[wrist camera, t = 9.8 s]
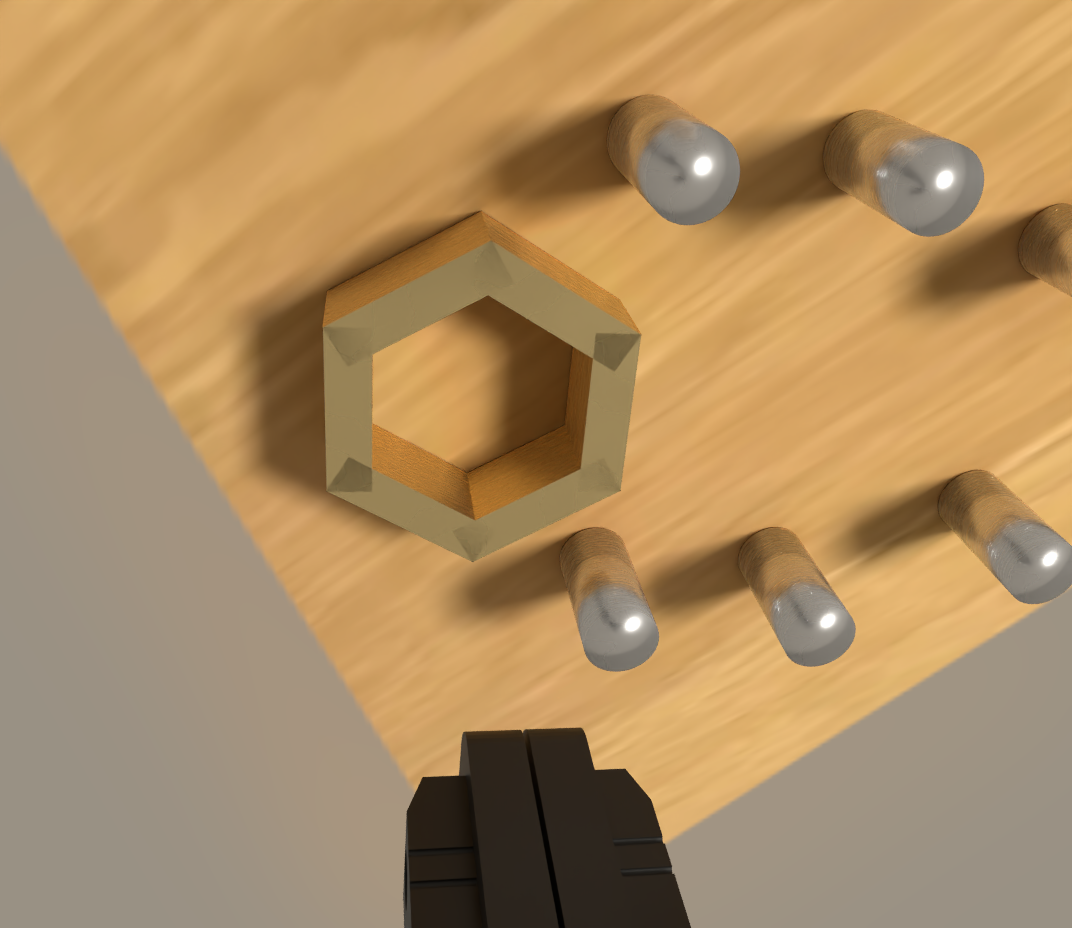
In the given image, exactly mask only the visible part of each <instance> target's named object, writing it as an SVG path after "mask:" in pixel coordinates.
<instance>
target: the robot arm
mask: <svg viewBox="0 0 1072 928" xmlns="http://www.w3.org/2000/svg"><path fill="white" fill-rule="evenodd" d="M404 870H405V871H404V893H403V900H404V928H691V926H690V923H689V920H688V916H687V913H686V910H685V907H684V904H683V900H682V897H681V894H680V891H679V888H678V884H677V881H676V878H675V875H674V874H672V865H671V862H670V859H669V856H668V852H667V849H666V846H665V844H663V841H662V833H661V830H660V827H659V823H658V820H657V817H656V814H655V811H654V807H653V804H652V801H651V799H650V798H649V797H648V795H647V794H646V793H645V792H644V791H643V790H642V788H641V787H640V786H639V785H638V784H637V782H636V781H635V780H634V779H633V778H632V776H631V775H630V774H629V773H628V772H627V770H626V769H607V770H595V769H594V766H593V762H592V758H591V754H590V750H589V746H588V742H587V738H586V735H585V733H584V731H583V729H582V728H556V729H526V730H524V731H523V733H522V731H521V730H504V731H473V732H463V735H462V743H461V756H460V770H459V776H439V777H423V778H422V780H421V782H420V784H419V786H418V789H417V791H416V793H415V795H414V797H413V799H412V801H411V804H410V806H409V808H408V810H407V820H406V844H405V869H404Z"/></svg>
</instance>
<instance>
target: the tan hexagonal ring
mask: <svg viewBox="0 0 1072 928" xmlns="http://www.w3.org/2000/svg"><path fill="white" fill-rule="evenodd" d="M486 296H490V297H492V298H493V299H495V300H497V301H498V302H500V303H502V304H503V305H505V306H507V307H508V308H510V309H512V310H513V311H515V312H517V313H518V314H520V315H522V316H523V317H525V318H526V319H528V320H530V321H531V322H533V323H535V324H536V325H538V326H540V327H541V328H543V329H545V330H546V331H548V332H550V333H551V334H553V335H555V336H556V337H558V338H560V339H561V340H563V341H565V342H566V343H568V344H570V345H571V346H573V348H572V358H571V368H570V378H569V388H568V397H567V407H566V417H565V425H564V426H562V427H560V428H558V429H556V430H554V431H552V432H550V433H548V434H546V435H544V436H542V437H540V438H538V439H536V440H534V441H532V442H530V443H528V444H526V445H523V446H521V447H519V448H517V449H515V450H513V451H511V452H509V453H507V454H505V455H503V456H501V457H499V458H497V459H495V460H493V461H491V462H489V463H487V464H485V465H483V466H481V467H479V468H477V469H475V470H473V471H471V472H469V473H466V472H464V471H462V470H460V469H459V468H457V467H455V466H453V465H451V464H449V463H447V462H445V461H443V460H441V459H439V458H437V457H436V456H434V455H432V454H430V453H428V452H426V451H424V450H422V449H420V448H418V447H416V446H414V445H413V444H411V443H409V442H407V441H405V440H403V439H401V438H399V437H397V436H395V435H393V434H391V433H389V432H388V431H386V430H384V429H382V428H380V427H378V426H376V425H374V424H372V354H374V353H376V352H378V351H380V350H382V349H384V348H386V347H388V346H390V345H392V344H394V343H396V342H398V341H400V340H401V339H403V338H405V337H407V336H409V335H411V334H413V333H415V332H417V331H419V330H421V329H423V328H425V327H427V326H429V325H431V324H433V323H435V322H437V321H439V320H441V319H443V318H445V317H447V316H448V315H450V314H452V313H454V312H456V311H458V310H460V309H462V308H464V307H466V306H468V305H470V304H472V303H474V302H476V301H478V300H480V299H482V298H484V297H486ZM322 328H323V352H324V396H325V440H326V485H327V487H326V491H327V492H329V493H331V494H333V495H335V496H337V497H339V498H342V499H344V500H346V501H348V502H350V503H352V504H354V505H356V506H358V507H360V508H362V509H364V510H366V511H368V512H370V513H373V514H375V515H377V516H379V517H381V518H383V519H385V520H387V521H389V522H391V523H393V524H395V525H397V526H399V527H401V528H404V529H406V530H408V531H410V532H412V533H414V534H416V535H418V536H420V537H422V538H424V539H426V540H428V541H430V542H432V543H435V544H437V545H439V546H441V547H443V548H445V549H447V550H449V551H451V552H453V553H455V554H457V555H459V556H461V557H463V558H466V559H468V560H470V561H472V562H474V561H476V560H478V559H480V558H482V557H484V556H486V555H488V554H490V553H492V552H494V551H497V550H499V549H501V548H503V547H505V546H507V545H509V544H511V543H513V542H515V541H517V540H519V539H521V538H523V537H526V536H528V535H530V534H532V533H534V532H536V531H538V530H540V529H542V528H544V527H546V526H548V525H550V524H553V523H555V522H557V521H559V520H561V519H563V518H565V517H567V516H569V515H571V514H573V513H575V512H577V511H579V510H582V509H584V508H586V507H588V506H590V505H592V504H594V503H596V502H598V501H600V500H602V499H604V498H606V497H608V496H611V495H613V494H615V493H617V492H619V491H621V490H620V489H621V482H622V474H623V467H624V459H625V452H626V444H627V437H628V429H629V422H630V414H631V407H632V400H633V392H634V385H635V377H636V370H637V362H638V355H639V347H640V340H641V333H640V331H639V330H638V328H637V327H636V325H635V323H634V322H633V320H632V318H631V317H630V315H629V314H628V312H627V310H626V309H625V307H624V306H623V304H622V302H621V301H620V299H618V298H616V297H615V296H613V295H612V294H610V293H608V292H607V291H605V290H604V289H602V288H601V287H599V286H597V285H596V284H594V283H593V282H591V281H590V280H588V279H587V278H585V277H583V276H582V275H580V274H579V273H577V272H576V271H574V270H572V269H571V268H569V267H568V266H566V265H565V264H563V263H561V262H560V261H558V260H557V259H555V258H554V257H552V256H550V255H549V254H547V253H546V252H544V251H543V250H541V249H540V248H538V247H536V246H535V245H533V244H532V243H530V242H529V241H527V240H525V239H524V238H522V237H521V236H519V235H518V234H516V233H514V232H513V231H511V230H510V229H508V228H507V227H505V226H504V225H502V224H500V223H499V222H497V221H496V220H494V219H493V218H491V217H489V216H488V215H486V214H485V213H483V212H482V211H480V212H478V213H476V214H475V215H473V216H471V217H469V218H467V219H465V220H463V221H461V222H459V223H457V224H455V225H453V226H451V227H450V228H448V229H446V230H444V231H442V232H440V233H438V234H436V235H434V236H432V237H430V238H428V239H426V240H425V241H423V242H421V243H419V244H417V245H415V246H413V247H411V248H409V249H407V250H405V251H403V252H401V253H400V254H398V255H396V256H394V257H392V258H390V259H388V260H386V261H384V262H382V263H380V264H378V265H376V266H375V267H373V268H371V269H369V270H367V271H365V272H363V273H361V274H359V275H357V276H355V277H353V278H351V279H350V280H348V281H346V282H344V283H342V284H340V285H338V286H336V287H334V288H332V289H330V290H327V295H326V303H325V311H324V319H323V327H322Z"/></svg>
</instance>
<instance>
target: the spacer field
mask: <svg viewBox="0 0 1072 928" xmlns="http://www.w3.org/2000/svg"><path fill="white" fill-rule="evenodd" d="M607 148H608V153H609V156H610V159H611V161H612V163H613V164H614V165H615V167H616V168H617V169H618V170H619V171H620V172H621V173H622V174H623V176H624V177H625V178H626V179H627V180H628V181H629V182H630V183H631V184H632V185H633V186H634V187H635V189H636V190H637V191H638V192H639V193H640V194H641V195H642V196H643V197H644V198H645V199H646V200H647V202H648V203H649V204H650V205H651V206H652V207H653V208H654V209H655V210H656V211H657V212H658V213H659V214H660V215H661V216H662V217H663V218H665V219H667V220H668V221H671V222H673V223H676V224H681V225H695V224H699V223H703V222H706V221H708V220H710V219H712V218H713V217H715V216H716V215H718V214H719V213H720V212H721V211H722V210H724V209H725V207H726V206H727V205H728V204H729V203H730V201H731V199H732V198H733V196H734V194H735V192H736V189H737V187H738V183H739V177H740V164H739V159H738V155H737V153H736V150H735V148H734V147H733V145H732V144H731V142H730V141H729V140H728V139H727V138H726V137H725V136H724V135H722V134H721V133H719V132H718V131H716V130H715V129H713V128H712V127H710V126H708V125H707V124H705V123H704V122H702V121H701V120H699V119H698V118H696V117H695V116H693V115H692V114H690V113H689V112H687V111H686V110H684V109H683V108H681V107H680V106H678V105H676V104H675V103H673V102H672V101H670V100H669V99H667V98H665V97H661V96H657V95H644V96H640V97H637V98H634V99H632V100H631V101H629V102H627V103H626V104H625V105H623V106H622V107H621V108H620V109H619V110H618V112H617V113H616V114H615V116H614V117H613V119H612V121H611V123H610V126H609V129H608V134H607ZM823 164H824V169H825V172H826V174H827V176H828V178H829V180H830V181H831V182H832V183H833V184H834V185H835V186H837V187H838V188H840V189H841V190H843V191H845V192H846V193H848V194H849V195H851V196H853V197H854V198H856V199H858V200H859V201H861V202H863V203H864V204H866V205H868V206H869V207H871V208H873V209H874V210H876V211H877V212H879V213H881V214H882V215H884V216H886V217H887V218H889V219H891V220H892V221H894V222H896V223H897V224H899V225H901V226H902V227H904V228H906V229H907V230H909V231H910V232H912V233H914V234H917V235H920V236H938V235H942V234H945V233H947V232H950V231H951V230H953V229H955V228H957V227H958V226H959V225H961V224H962V223H963V222H964V221H965V220H966V219H967V218H968V217H969V216H970V215H971V213H972V212H973V211H974V209H975V208H976V206H977V204H978V202H979V200H980V197H981V194H982V191H983V186H984V172H983V168H982V164H981V162H980V160H979V158H978V157H977V155H976V154H975V153H974V152H973V151H972V150H970V149H969V148H968V147H966V146H964V145H961V144H959V143H956V142H954V141H951V140H949V139H946V138H944V137H941V136H939V135H937V134H934V133H932V132H929V131H927V130H924V129H922V128H919V127H917V126H914V125H912V124H909V123H907V122H905V121H902V120H900V119H897V118H895V117H892V116H890V115H887V114H885V113H882V112H880V111H876V110H862V111H858V112H855V113H853V114H851V115H849V116H847V117H846V118H844V119H843V120H842V121H841V122H839V123H838V124H837V125H836V127H835V128H834V129H833V130H832V132H831V133H830V135H829V137H828V139H827V142H826V144H825V148H824V153H823ZM1018 254H1019V259H1020V262H1021V264H1022V266H1023V268H1024V269H1025V270H1026V271H1027V272H1029V273H1030V274H1032V275H1033V276H1035V277H1037V278H1039V279H1041V280H1042V281H1044V282H1046V283H1048V284H1050V285H1051V286H1053V287H1055V288H1057V289H1058V290H1060V291H1062V292H1064V293H1066V294H1067V295H1069V296H1071V297H1072V204H1057V205H1054V206H1051V207H1048V208H1046V209H1045V210H1043V211H1041V212H1040V213H1039V214H1037V215H1036V216H1035V217H1034V218H1033V219H1032V220H1031V221H1030V222H1029V224H1028V225H1027V226H1026V228H1025V230H1024V232H1023V234H1022V236H1021V239H1020V242H1019V248H1018ZM938 511H939V514H940V517H941V518H942V520H943V521H944V522H945V523H946V524H947V525H948V526H949V527H950V528H951V529H952V530H953V531H954V532H955V534H956V535H957V536H958V537H959V538H960V539H961V540H962V541H963V542H964V543H965V544H966V545H967V547H968V548H969V549H970V550H971V551H972V552H973V553H974V554H975V555H976V556H977V557H978V558H979V559H980V561H981V562H982V563H983V564H984V565H985V566H986V567H987V568H988V569H989V570H990V571H991V572H992V574H993V575H994V576H995V577H996V578H997V579H998V580H999V581H1000V582H1001V583H1002V584H1003V585H1004V586H1005V588H1006V589H1007V590H1008V591H1009V592H1010V593H1011V594H1012V595H1013V596H1014V597H1015V598H1016V599H1017V600H1019V601H1020V602H1023V603H1027V604H1039V603H1044V602H1047V601H1050V600H1052V599H1054V598H1056V597H1058V596H1059V595H1061V594H1062V593H1063V592H1065V591H1066V590H1067V589H1068V588H1069V587H1070V586H1071V584H1072V546H1071V545H1070V544H1069V543H1068V542H1067V541H1065V540H1064V539H1063V538H1062V537H1061V536H1060V535H1059V534H1058V533H1057V532H1056V531H1055V530H1053V529H1052V528H1051V527H1050V526H1049V525H1048V524H1047V523H1046V522H1045V521H1044V520H1043V519H1041V518H1040V517H1039V516H1038V515H1037V514H1036V513H1035V512H1034V511H1033V510H1032V509H1031V508H1030V507H1028V506H1027V505H1026V504H1025V503H1024V502H1023V501H1022V500H1021V499H1020V498H1019V497H1018V496H1016V495H1015V494H1014V493H1013V492H1012V491H1011V490H1010V489H1009V488H1008V487H1007V486H1006V485H1004V484H1003V483H1002V482H1001V481H1000V480H999V479H998V478H997V477H996V476H995V475H993V474H992V473H990V472H987V471H982V470H975V471H970V472H966V473H964V474H962V475H960V476H958V477H956V478H955V479H954V480H952V481H951V482H950V483H949V484H948V485H947V486H946V488H945V489H944V490H943V492H942V494H941V496H940V499H939V502H938ZM560 565H561V569H562V573H563V576H564V580H565V583H566V587H567V590H568V594H569V597H570V601H571V605H572V608H573V612H574V615H575V619H576V622H577V626H578V629H579V633H580V637H581V640H582V644H583V647H584V651H585V654H586V656H587V658H588V659H589V661H590V662H591V663H592V664H594V665H595V666H597V667H598V668H601V669H603V670H607V671H625V670H629V669H632V668H635V667H637V666H639V665H641V664H642V663H644V662H645V661H646V660H647V659H648V658H649V657H650V656H651V655H652V654H653V653H654V651H655V649H656V647H657V645H658V641H659V632H658V628H657V626H656V623H655V621H654V618H653V616H652V613H651V610H650V608H649V605H648V603H647V600H646V598H645V595H644V593H643V590H642V587H641V585H640V582H639V580H638V577H637V575H636V572H635V570H634V567H633V564H632V562H631V559H630V557H629V554H628V552H627V549H626V547H625V544H624V542H623V540H622V539H621V538H620V536H618V535H617V534H616V533H614V532H613V531H610V530H608V529H604V528H590V529H586V530H583V531H580V532H578V533H576V534H575V535H573V536H572V537H571V538H570V539H569V540H568V541H567V542H566V543H565V545H564V546H563V548H562V550H561V553H560ZM738 565H739V568H740V571H741V572H742V574H743V576H744V578H745V580H746V581H747V583H748V585H749V587H750V589H751V591H752V592H753V594H754V596H755V598H756V600H757V601H758V603H759V605H760V607H761V609H762V610H763V612H764V614H765V616H766V618H767V620H768V621H769V623H770V625H771V627H772V629H773V630H774V632H775V634H776V636H777V638H778V640H779V641H780V643H781V645H782V647H783V649H784V650H785V652H786V654H787V656H788V657H789V658H790V659H791V660H792V661H793V662H795V663H797V664H799V665H803V666H820V665H824V664H827V663H830V662H832V661H834V660H835V659H837V658H839V657H840V656H841V655H842V654H843V653H845V652H846V650H847V649H848V648H849V647H850V645H851V644H852V642H853V639H854V637H855V623H854V621H853V619H852V617H851V616H850V614H849V613H848V611H847V610H846V608H845V607H844V605H843V604H842V602H841V601H840V599H839V598H838V596H837V595H836V593H835V592H834V590H833V589H832V587H831V586H830V584H829V583H828V581H827V580H826V578H825V577H824V575H823V574H822V572H821V571H820V569H819V568H818V566H817V565H816V563H815V562H814V561H813V559H812V558H811V556H810V555H809V553H808V552H807V550H806V549H805V547H804V546H803V544H802V543H801V541H800V540H799V538H798V537H797V535H795V534H794V533H793V532H792V531H790V530H788V529H785V528H778V527H775V528H767V529H764V530H761V531H759V532H757V533H755V534H754V535H752V536H751V537H750V538H749V539H748V540H747V541H746V542H745V543H744V544H743V546H742V548H741V550H740V552H739V556H738Z"/></svg>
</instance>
